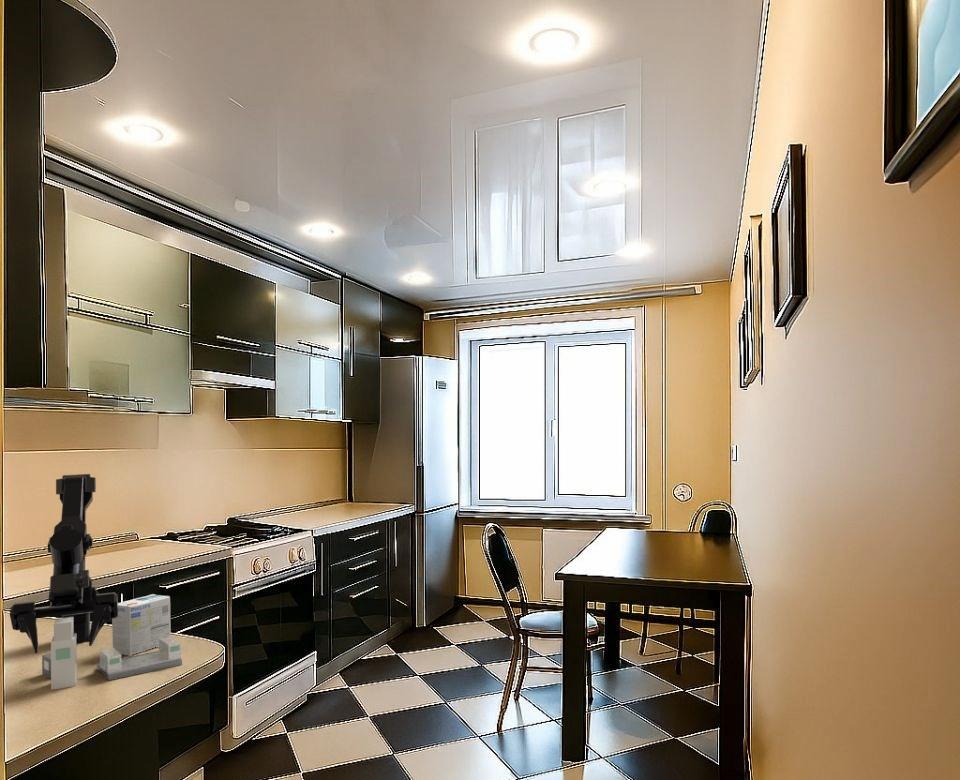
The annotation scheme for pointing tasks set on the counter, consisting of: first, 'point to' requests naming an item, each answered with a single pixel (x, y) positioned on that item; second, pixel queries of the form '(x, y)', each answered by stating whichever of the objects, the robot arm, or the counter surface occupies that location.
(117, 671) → the mounting plate
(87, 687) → the counter surface
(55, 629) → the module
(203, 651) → the counter surface
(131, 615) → the light bulb box
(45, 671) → the block
